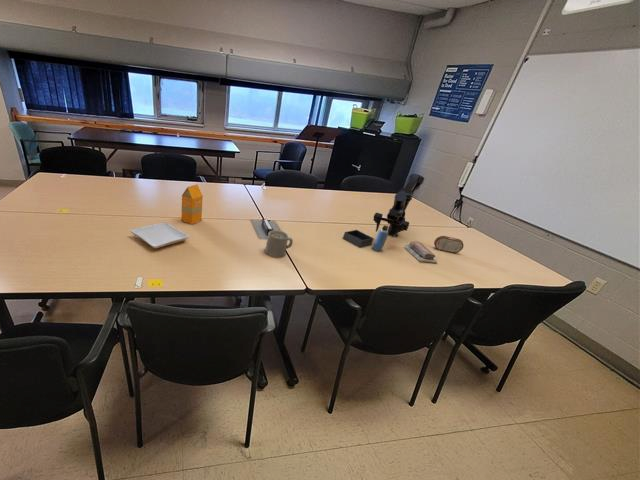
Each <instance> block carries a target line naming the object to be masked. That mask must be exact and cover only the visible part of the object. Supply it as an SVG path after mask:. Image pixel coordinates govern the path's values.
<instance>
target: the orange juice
mask: <svg viewBox="0 0 640 480" xmlns="http://www.w3.org/2000/svg"><path fill="white" fill-rule="evenodd" d="M203 197H204V195H203V194H202V192H201V189H200V187H199V185H198V184H194V185H189V186H187V187H186V188H185V190H184V192H183V193H182V194H181V221H182V222H185V223H187V224H190V225H194V224H196V223H198V222H200V221H202V217H203V216H202V215H203Z"/></svg>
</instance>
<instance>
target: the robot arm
mask: <svg viewBox="0 0 640 480" xmlns="http://www.w3.org/2000/svg"><path fill="white" fill-rule="evenodd" d="M406 181H407V183H406V185H405V187H403V188H400V190H399V191H398V192H396V194H395V195H394V199H393V205H392V207H391V208H389V210H388V212H387V214H386V217H385V216H383V213H380V212H375V213H374V215H373V219H372V220H373V221H374V223H375V224H376V227H375V232H378V231H379V228H380V225H381V222H386V223H387V224H389V226H388V235H389V236H391V237H392V238H394V237H398V234H399V233H400V232H405V231H408V229H409V227H410V222H409V221H407V220H406V210H407V208H408V206H409V204H410V202H411V201H412V199H413V195H414V194H415V192H416V191H417V190H418V189H420V187H421V186H422V185H423V184H424V182H425V177H424V176H422V175H421V174H417V173H411V174H409V175H408V178H407V180H406Z"/></svg>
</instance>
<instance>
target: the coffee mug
mask: <svg viewBox="0 0 640 480" xmlns="http://www.w3.org/2000/svg"><path fill="white" fill-rule="evenodd" d="M288 242H289V243H288ZM293 242H294V239H293V238H292V237H290V236H289V234H288V233H287V232H285V231H282V230H280V231H278V230H272V231H270V232H269V233H268V238H266V245H265V250H264V252H265V254H266V255H267V256H269V257H273V258H283V257H285V254H286V251H287V249H289V248H291V247H292V245H293Z"/></svg>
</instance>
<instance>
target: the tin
mask: <svg viewBox="0 0 640 480" xmlns="http://www.w3.org/2000/svg"><path fill="white" fill-rule="evenodd" d="M433 245H434V247H435V248H436V249H437V250H439V251H444V252H448V253H451V254H457V253H460V252H461V251H462V250H463V249H464V246H465V245H464V241H463V240H461V239H460V238H455V237H453V236H452V237H451V236H447V235H440V236H438V237H436V238H435V240H434V242H433Z"/></svg>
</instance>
